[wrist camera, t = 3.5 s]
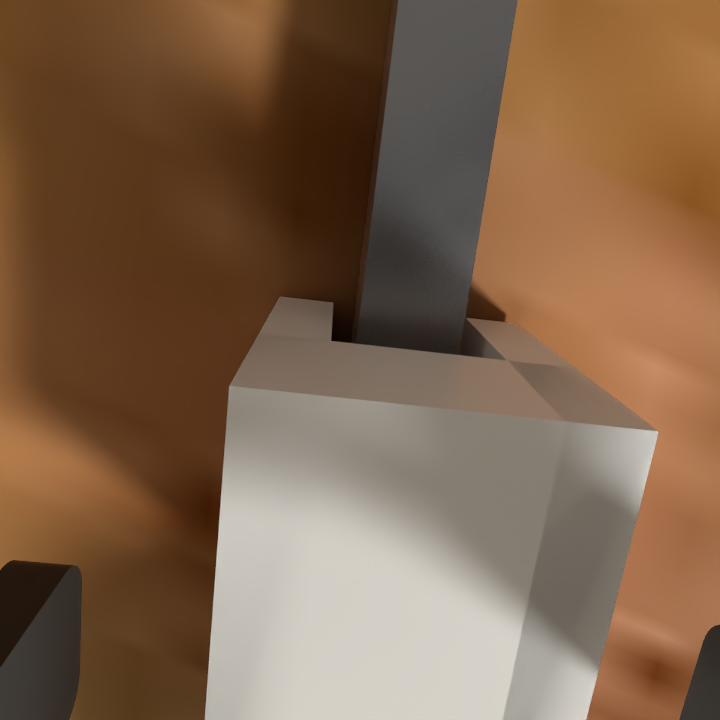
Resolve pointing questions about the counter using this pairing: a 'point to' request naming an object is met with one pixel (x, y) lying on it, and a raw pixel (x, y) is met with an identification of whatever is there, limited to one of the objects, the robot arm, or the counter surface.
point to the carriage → (417, 528)
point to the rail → (430, 170)
